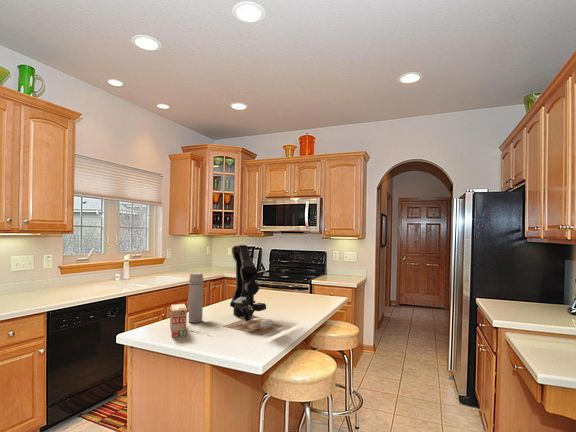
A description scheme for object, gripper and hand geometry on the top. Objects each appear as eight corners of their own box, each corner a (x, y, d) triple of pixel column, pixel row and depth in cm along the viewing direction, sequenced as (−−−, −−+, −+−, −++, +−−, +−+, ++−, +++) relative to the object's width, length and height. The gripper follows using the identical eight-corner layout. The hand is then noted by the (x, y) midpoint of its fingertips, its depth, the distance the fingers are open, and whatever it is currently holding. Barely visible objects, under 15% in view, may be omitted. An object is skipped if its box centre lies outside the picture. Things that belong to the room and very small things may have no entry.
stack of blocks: (169, 325, 171) (170, 300, 172) (182, 324, 173) (183, 300, 174) (171, 338, 151) (172, 310, 152) (186, 336, 154) (186, 309, 154)
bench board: (222, 329, 164) (222, 326, 164) (246, 321, 179) (246, 318, 179) (261, 338, 151) (261, 334, 151) (283, 328, 166) (283, 325, 166)
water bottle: (205, 320, 181) (206, 273, 182) (196, 323, 174) (197, 274, 175) (192, 318, 185) (193, 272, 186) (182, 321, 178) (183, 273, 179)
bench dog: (260, 330, 159) (260, 322, 159) (269, 326, 164) (269, 319, 165) (263, 330, 158) (263, 323, 158) (272, 327, 164) (272, 319, 164)
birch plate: (242, 327, 163) (242, 322, 163) (255, 323, 171) (255, 318, 171) (254, 330, 159) (254, 324, 159) (266, 325, 167) (266, 320, 167)
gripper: (222, 291, 166) (222, 323, 166) (252, 295, 156) (251, 329, 155) (238, 288, 176) (237, 318, 175) (267, 291, 165) (266, 324, 165)
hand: (247, 322), depth 167 cm, fingers closed
